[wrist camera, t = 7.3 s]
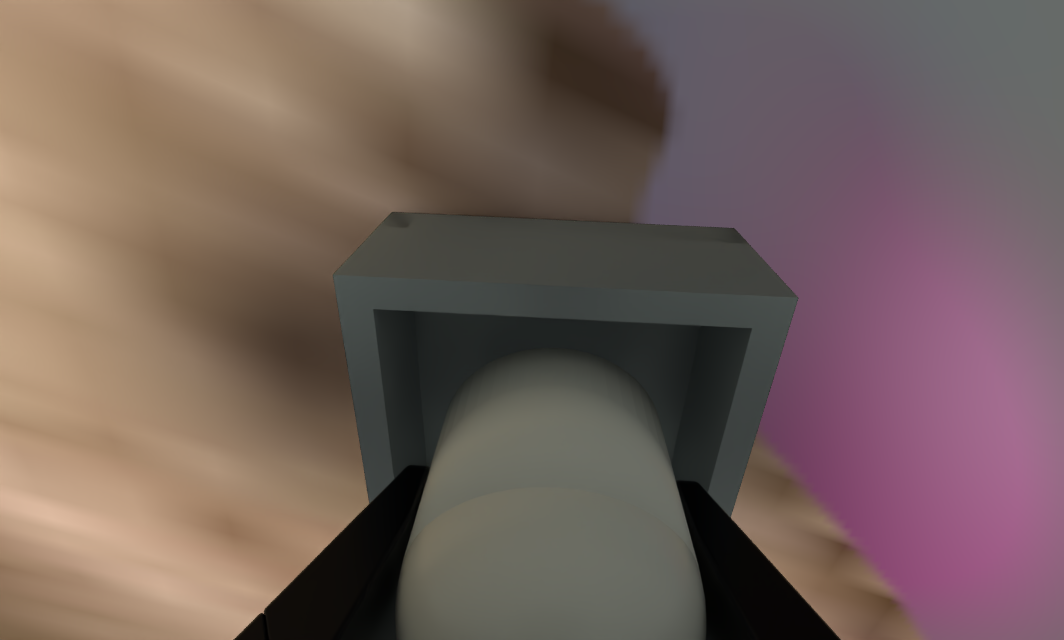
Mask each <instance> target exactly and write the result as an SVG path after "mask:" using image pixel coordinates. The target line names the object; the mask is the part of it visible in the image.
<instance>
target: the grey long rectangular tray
mask: <svg viewBox="0 0 1064 640" xmlns="http://www.w3.org/2000/svg"><path fill="white" fill-rule="evenodd" d="M333 279H334V285H335V292H336V298H337V304H338V310H339V317H340V323H341V329H342V335H343V342H344V348H345V354H346V360H347V367H348V373H349V379H350V385H351V392H352V398H353V404H354V410H355V417H356V423H357V429H358V435H359V442H360V448H361V454H362V460H363V467H364V473H365V479H366V485H367V492H368V498H369V504H370V503H371V502H372V501H373V500H374V499H375V498H376V497H377V496H378V495H379V494H380V493H381V492H382V491H383V490H384V489H385V487H386V486H387V485H388V484H389V483H390V482H391V481H392V480H393V479H394V478H395V477H396V476H397V475H398V474H399V473H400V472H401V471H402V470H403V469H404V468H405V467H407V466H408V465H425V466H429V467H431V463H432V460H433V457H434V453H435V450H436V446H437V443H438V440H439V436H440V433H441V429H442V426H443V423H444V419H445V416H446V413H447V410H448V407H449V405H450V402H451V400H452V398H453V396H454V395H455V393H456V391H457V390H458V389H459V388H460V386H461V385H462V384H463V383H464V381H465V380H467V379H468V378H469V377H470V376H471V375H472V374H473V373H474V372H476V371H477V370H479V369H480V368H481V367H483V366H484V365H486V364H488V363H490V362H492V361H494V360H496V359H498V358H500V357H503V356H506V355H508V354H511V353H515V352H519V351H524V350H529V349H538V348H563V349H572V350H577V351H582V352H586V353H590V354H593V355H595V356H598V357H601V358H604V359H606V360H608V361H610V362H612V363H614V364H616V365H617V366H619V367H620V368H622V369H623V370H625V371H626V372H628V373H629V374H630V375H631V376H632V377H634V378H635V379H636V380H637V381H638V382H639V383H640V384H641V386H642V387H643V388H644V389H645V390H646V391H647V393H648V395H649V396H650V398H651V399H652V401H653V403H654V406H655V408H656V410H657V413H658V417H659V420H660V424H661V428H662V432H663V435H664V439H665V443H666V447H667V450H668V454H669V458H670V461H671V465H672V469H673V473H674V476H675V480H676V481H677V480H686V481H696V482H698V483H699V484H700V485H701V486H702V487H703V488H704V489H705V490H706V491H707V492H708V493H709V495H710V496H711V497H712V498H713V499H714V500H715V501H716V502H717V503H718V504H719V506H720V507H721V508H722V509H723V510H724V511H725V512H726V513H727V514H728V516H729V517H730V518H731V515H732V511H733V508H734V505H735V502H736V498H737V495H738V492H739V489H740V485H741V482H742V479H743V476H744V472H745V469H746V466H747V463H748V460H749V456H750V453H751V450H752V447H753V443H754V440H755V437H756V434H757V430H758V427H759V424H760V421H761V417H762V414H763V411H764V408H765V404H766V401H767V398H768V395H769V392H770V388H771V385H772V382H773V379H774V375H775V372H776V369H777V366H778V362H779V359H780V356H781V352H782V349H783V346H784V343H785V340H786V336H787V333H788V330H789V327H790V323H791V320H792V317H793V314H794V311H795V307H796V304H797V301H798V297H797V296H796V295H795V294H794V293H793V292H792V290H791V289H790V288H789V287H788V286H787V285H786V284H785V283H784V282H783V281H782V280H781V278H780V277H779V276H778V275H777V274H776V273H775V272H774V271H773V270H772V269H771V268H770V267H769V265H768V264H767V263H766V262H765V261H764V260H763V259H762V258H761V257H760V256H759V255H758V253H757V252H756V251H755V250H754V249H753V248H752V247H751V246H750V245H749V244H748V243H747V242H746V240H745V239H744V238H743V237H742V236H741V235H740V234H739V233H738V232H737V231H736V230H735V229H734V228H719V227H698V226H697V227H696V226H677V225H655V224H634V223H612V222H591V221H570V220H548V219H527V218H505V217H484V216H463V215H441V214H420V213H398V212H392V213H391V214H390V215H389V216H388V217H387V218H386V219H385V220H384V221H383V222H382V223H381V224H380V225H379V226H378V227H377V229H376V230H375V231H374V232H373V233H372V234H371V235H370V236H369V237H368V238H367V239H366V240H365V241H364V242H363V243H362V244H361V245H360V247H359V248H358V249H357V250H356V251H355V252H354V253H353V254H352V255H351V256H350V257H349V258H348V259H347V260H346V261H345V262H344V264H343V265H342V266H341V267H340V268H339V269H338V270H337V271H336V272H335V273H334V274H333Z"/></svg>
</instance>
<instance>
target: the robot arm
mask: <svg viewBox="0 0 1064 640" xmlns="http://www.w3.org/2000/svg"><path fill="white" fill-rule="evenodd" d="M429 470H430V467H429V466H425V465H408V466H407V467H405V468H404V469H403V470H402V471H401V472H400V473H399V474H398V475H397V476H396V477H395V478H394V479H393V480H392V481H391V482H390V483H389V484H388V485H387V486H386V487H385V489H384V490H383V491H382V492H381V493H380V494H379V495H378V496H377V497H376V498H375V499H374V500H373V501H372V502H371V503H370V504H369V505H368V506H367V507H366V508H365V509H364V510H363V511H362V512H361V513H360V514H359V515H358V516H357V517H356V518H355V519H354V520H353V521H352V522H351V523H350V524H349V525H348V526H347V527H346V528H345V529H344V530H343V531H342V532H341V533H340V534H339V535H338V536H337V537H336V538H335V539H334V540H333V541H332V542H331V543H330V544H329V545H328V546H327V547H326V548H325V549H324V550H323V551H322V552H321V553H320V554H319V555H318V556H317V557H316V558H315V559H314V560H313V561H312V562H311V563H310V564H309V565H308V566H307V567H306V568H305V569H304V570H303V571H302V572H301V573H300V574H299V575H298V576H297V577H296V578H295V579H294V580H293V581H292V582H291V583H290V584H289V585H288V586H287V587H286V588H285V589H284V590H283V591H282V592H281V593H280V594H279V595H278V596H277V597H276V598H275V599H274V600H273V601H272V602H271V603H270V604H269V605H268V606H267V607H266V608H265V610H264V614H263V613H261V614H259V615H258V616H257V617H256V618H255V619H254V620H253V621H252V622H251V623H250V624H249V625H248V626H247V627H246V628H245V629H244V630H243V631H242V632H241V633H240V634H239V635H238V636H237V637H236V638H235V639H234V640H396V629H395V603H396V592H397V586H398V580H399V576H400V571H401V567H402V562H403V559H404V555H405V552H406V548H407V545H408V542H409V538H410V535H411V531H412V528H413V525H414V521H415V518H416V514H417V511H418V508H419V504H420V501H421V497H422V494H423V491H424V487H425V484H426V480H427V477H428V474H429ZM676 484H677V488H678V491H679V495H680V499H681V503H682V506H683V510H684V514H685V518H686V521H687V525H688V529H689V533H690V536H691V540H692V544H693V548H694V551H695V555H696V559H697V562H698V566H699V570H700V575H701V579H702V584H703V590H704V595H705V602H706V640H841V639H840V638H839V637H838V636H837V635H836V634H835V633H834V632H833V630H832V629H831V628H830V627H829V626H828V625H827V624H826V623H825V622H824V620H823V619H822V618H821V617H820V616H819V615H818V614H817V613H816V612H815V611H814V609H813V608H812V607H811V606H810V605H809V604H808V603H807V602H806V601H805V599H804V598H803V597H802V596H801V595H800V594H799V593H798V592H797V591H796V590H795V588H794V587H793V586H792V585H791V584H790V583H789V582H788V581H787V580H786V578H785V577H784V576H783V575H782V574H781V573H780V572H779V571H778V570H777V569H776V567H775V566H774V565H773V564H772V563H771V562H770V561H769V560H768V559H767V558H766V556H765V555H764V554H763V553H762V552H761V551H760V550H759V549H758V548H757V546H756V545H755V544H754V543H753V542H752V541H751V540H750V539H749V538H748V537H747V535H746V534H745V533H744V532H743V531H742V530H741V529H740V528H739V527H738V525H737V524H736V523H735V522H734V521H733V520H732V519H731V518H730V517H729V516H728V514H727V513H726V512H725V511H724V510H723V509H722V508H721V507H720V506H719V504H718V503H717V502H716V501H715V500H714V499H713V498H712V497H711V496H710V495H709V493H708V492H707V491H706V490H705V489H704V488H703V487H702V486H701V485H700V484H699V483H698V482H696V481H686V480H677V481H676Z"/></svg>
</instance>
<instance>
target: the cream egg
mask: <svg viewBox="0 0 1064 640" xmlns="http://www.w3.org/2000/svg"><path fill="white" fill-rule="evenodd" d="M395 629H396V640H706V602H705V595H704V590H703V584H702V579H701V575H700V570H699V566H698V562H697V559H696V555H695V551H694V548H693V544H692V540H691V536H690V533H689V529H688V525H687V521H686V518H685V514H684V510H683V506H682V503H681V499H680V495H679V491H678V488H677V484H676V480H675V476H674V473H673V469H672V465H671V461H670V458H669V454H668V450H667V447H666V443H665V439H664V435H663V432H662V428H661V424H660V420H659V417H658V413H657V410H656V408H655V406H654V403H653V401H652V399H651V398H650V396H649V395H648V393H647V391H646V390H645V389H644V388H643V387H642V386H641V384H640V383H639V382H638V381H637V380H636V379H635V378H634V377H632V376H631V375H630V374H629V373H628V372H626V371H625V370H623V369H622V368H620V367H619V366H617V365H616V364H614V363H612V362H610V361H608V360H606V359H604V358H601V357H598V356H595V355H593V354H590V353H586V352H582V351H577V350H572V349H563V348H538V349H529V350H524V351H519V352H515V353H511V354H508V355H506V356H503V357H500V358H498V359H496V360H494V361H492V362H490V363H488V364H486V365H484V366H483V367H481V368H480V369H479V370H477V371H476V372H474V373H473V374H472V375H471V376H470V377H469V378H468V379H467V380H465V381H464V383H463V384H462V385H461V386H460V388H459V389H458V390H457V391H456V393H455V395H454V396H453V398H452V400H451V402H450V405H449V407H448V410H447V413H446V416H445V419H444V423H443V426H442V429H441V433H440V436H439V440H438V443H437V446H436V450H435V453H434V457H433V460H432V463H431V467H430V470H429V474H428V477H427V480H426V484H425V487H424V491H423V494H422V497H421V501H420V504H419V508H418V511H417V514H416V518H415V521H414V525H413V528H412V531H411V535H410V538H409V542H408V545H407V548H406V552H405V555H404V559H403V562H402V567H401V571H400V576H399V580H398V586H397V592H396V603H395Z"/></svg>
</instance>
